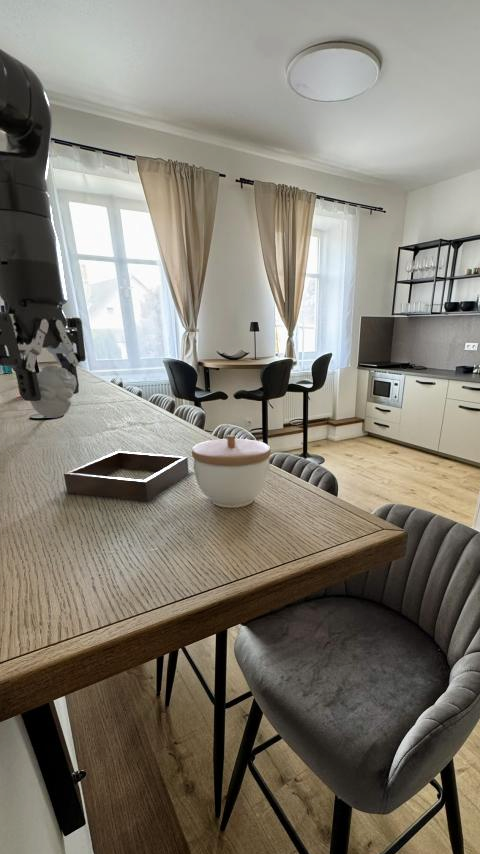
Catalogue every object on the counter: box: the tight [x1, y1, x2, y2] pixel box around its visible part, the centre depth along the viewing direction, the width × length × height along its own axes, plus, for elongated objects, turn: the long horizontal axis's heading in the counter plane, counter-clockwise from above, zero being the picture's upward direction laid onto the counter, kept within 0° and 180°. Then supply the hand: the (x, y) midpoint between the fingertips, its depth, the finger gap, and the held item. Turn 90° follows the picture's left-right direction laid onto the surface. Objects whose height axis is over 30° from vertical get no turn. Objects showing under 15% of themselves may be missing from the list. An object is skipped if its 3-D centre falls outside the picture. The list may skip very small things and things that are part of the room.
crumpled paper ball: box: [30, 364, 77, 419], centre depth 57 cm, size 6×7×7 cm
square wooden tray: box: [63, 450, 190, 503], centre depth 76 cm, size 16×16×4 cm
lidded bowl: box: [191, 434, 271, 509], centre depth 68 cm, size 13×13×11 cm
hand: (52, 396), depth 57 cm, fingers closed on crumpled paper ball, 7 cm apart
